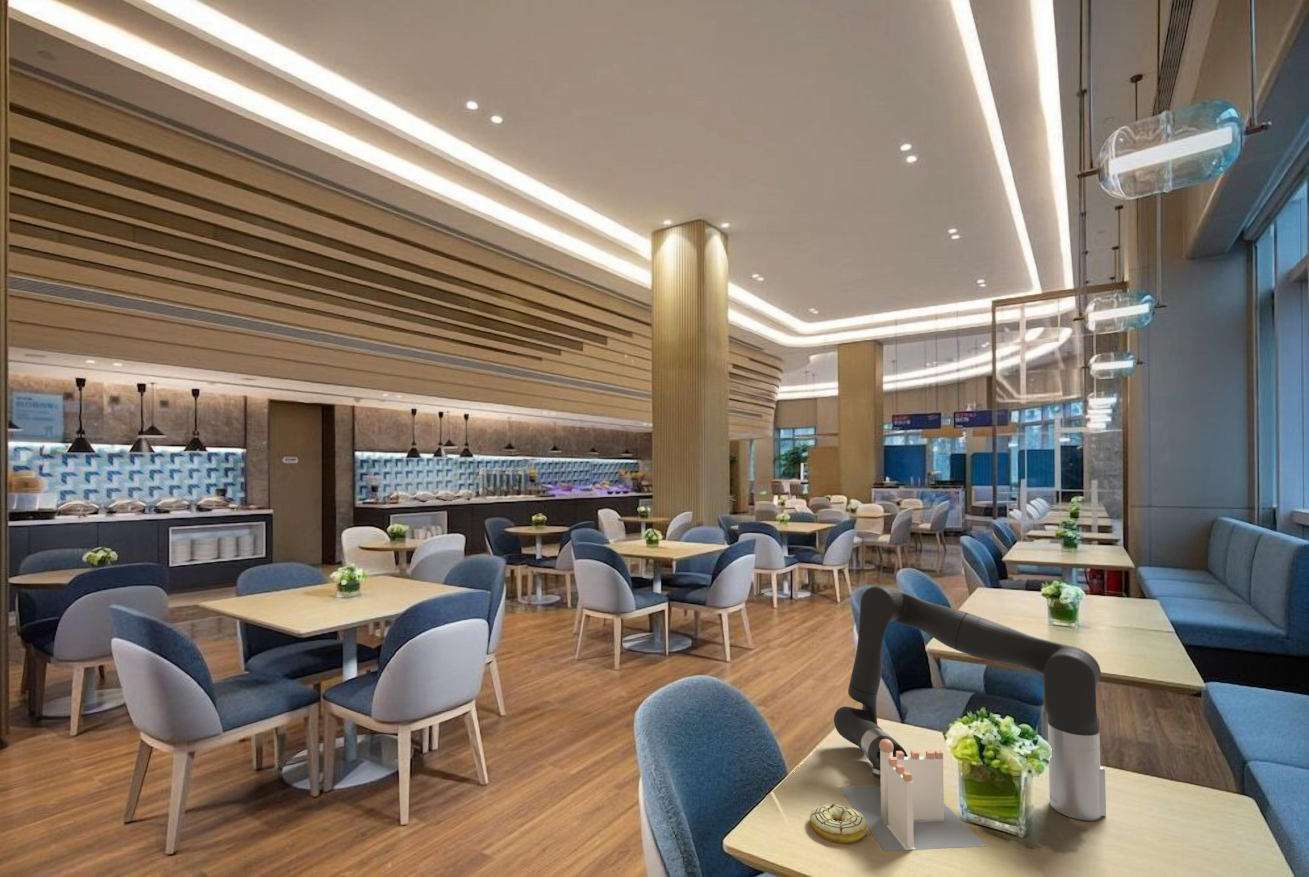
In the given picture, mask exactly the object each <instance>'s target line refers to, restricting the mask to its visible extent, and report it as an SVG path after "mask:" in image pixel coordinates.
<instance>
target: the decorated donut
mask: <svg viewBox="0 0 1309 877" xmlns="http://www.w3.org/2000/svg"><path fill="white" fill-rule="evenodd" d="M809 821H810V825H811V827H812V828H813V830H814V831H815V832H816V834H817V835H819V836H820V837H821V838H823V839H825V840H827V841H829V842H830V841H831V842H834V843H838V844H853V843H856V842H858V841H860V840H862V839H863V838H864V837H865V835H866V833H867V828H868V827H867V826H866V820H865V818H864V817H863V816H862V814H861V813H860V812H858V811H856V810H854V808H853V807H852V808H851V807H849V806H845V805H841V804H835V803H832V804H823V805H819V806H817V807H814V808H813V809H812V810H811V812H810V814H809Z"/></svg>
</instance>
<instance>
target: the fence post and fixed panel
mask: <svg viewBox="0 0 1309 877" xmlns="http://www.w3.org/2000/svg"><path fill="white" fill-rule="evenodd" d="M879 748H880V774H881V779H880V785H881V821H882V822H885V823H887V824H889V825H890V826H891V827H892V829H893V830H894V831H895V833H896V834H897V835H898V836H899V838H900V839H901V840H902V841H903V843H904V844H905V845H906V846H907V848H911V847H914V833H913V782H912V775H911V774H910V773H909V772H904V767H903V766H902V765H901V764H897V760H896V759H895V758H894V757H893V749H894V746H893V743H892V742H891V741H890V740H888V739H883V740H881V741H880V743H879Z"/></svg>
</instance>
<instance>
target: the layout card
mask: <svg viewBox="0 0 1309 877" xmlns="http://www.w3.org/2000/svg"><path fill="white" fill-rule="evenodd" d="M838 789H839V790H840V792H841V793H842V795H843V796H844V797H845V798H846V800H847V801H848V803H849V804H850V805H851V807H852V809H854V810H856V811H858V812H860V813H861V814H862V816H863V817H864V818H865V820H866V826H867V827H866V828H867V829H868V830H869V831H870V832H871V834H872V835H873V837H874V839H876V840H875V841H877V843H879V845H880V846H881V848H882V849H883V851H884V852H894V851H898V852H900V851H915V850H916V851H917V850H936V849H939V850H941V849H955V848H977V847H980V848H981V847H987V844H986V843H985V842H983V841H982V840H981V838H979V837H978V835H977V834H976V833H974V831H973V830H971V829H970V828H969V826H968V825H966V824H965V822H963V821H962V819H960V818H959V817H958V816H957V815H956V814H955V813H954V812H953V810H951V808H949V807H948V806H947V805H946V804H945V803H944V819H931V820H913V833H914V847H911V848H907V846H906V845H905V844H904V843H903V841H902V840H901V839H900V838H899V836H898V835H897V834H896V833H895V831H894V830H893V829H892V827H891V826H890V825H889V824H887V823H885V822H882V821H881V784H880V785H879V784H878V785H862V786H861V785H860V786H859V785H858V786H855V785H854V786H838Z"/></svg>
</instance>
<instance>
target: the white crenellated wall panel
mask: <svg viewBox="0 0 1309 877" xmlns="http://www.w3.org/2000/svg"><path fill="white" fill-rule="evenodd" d="M894 758H895V759H896V760H897V764H901V765H902V766H903V767H904V772H909V773H910V774H911V775H912V782H913V820H931V819H944V804H945V800H944V799H945V796H944V795H945V794H944V789H945V787H944V753H943V751H941V750H934V751H933V750H925V756H920V752H919V751H918V750H910V756H908V757H904V753H903V752H902V751H896V757H894Z"/></svg>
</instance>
